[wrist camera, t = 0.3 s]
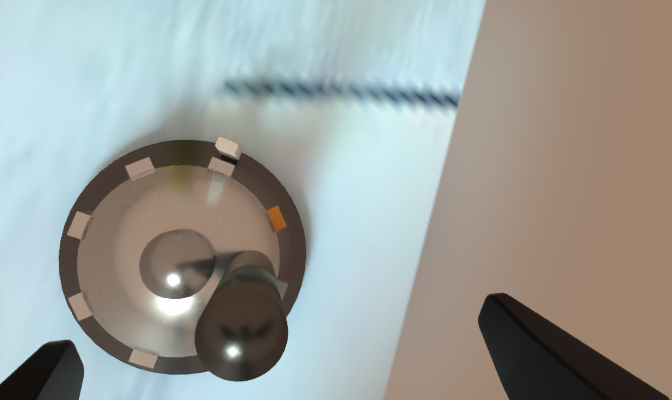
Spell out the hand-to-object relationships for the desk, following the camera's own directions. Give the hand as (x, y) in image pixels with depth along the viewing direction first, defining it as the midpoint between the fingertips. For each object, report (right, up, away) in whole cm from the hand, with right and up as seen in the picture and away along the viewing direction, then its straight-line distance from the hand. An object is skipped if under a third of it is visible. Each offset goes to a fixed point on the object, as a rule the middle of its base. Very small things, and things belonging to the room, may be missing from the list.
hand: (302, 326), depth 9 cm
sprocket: (-7, 0, +12) cm, 14 cm away
